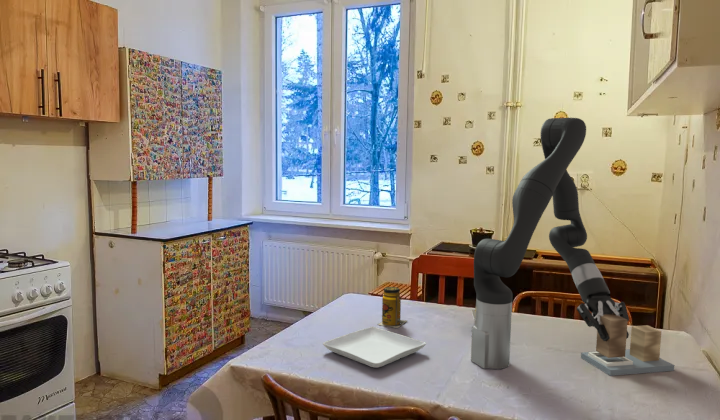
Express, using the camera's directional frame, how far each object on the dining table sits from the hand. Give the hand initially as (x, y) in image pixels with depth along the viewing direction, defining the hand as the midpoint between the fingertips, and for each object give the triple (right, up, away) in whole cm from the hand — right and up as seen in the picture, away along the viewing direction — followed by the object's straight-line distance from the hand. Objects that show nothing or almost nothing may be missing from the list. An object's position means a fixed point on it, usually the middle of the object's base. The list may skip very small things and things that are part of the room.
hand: (616, 339), depth 134 cm
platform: (-29, -5, +31) cm, 43 cm away
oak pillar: (+10, -6, +4) cm, 12 cm away
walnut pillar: (0, -4, +2) cm, 5 cm away
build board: (+4, -8, +4) cm, 9 cm away
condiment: (-57, -4, +35) cm, 67 cm away
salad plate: (-63, -7, +9) cm, 64 cm away
